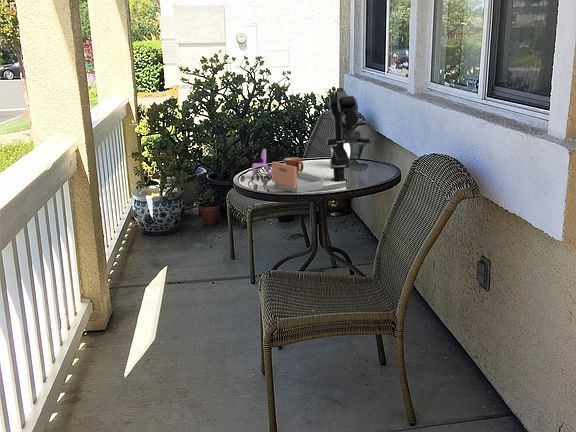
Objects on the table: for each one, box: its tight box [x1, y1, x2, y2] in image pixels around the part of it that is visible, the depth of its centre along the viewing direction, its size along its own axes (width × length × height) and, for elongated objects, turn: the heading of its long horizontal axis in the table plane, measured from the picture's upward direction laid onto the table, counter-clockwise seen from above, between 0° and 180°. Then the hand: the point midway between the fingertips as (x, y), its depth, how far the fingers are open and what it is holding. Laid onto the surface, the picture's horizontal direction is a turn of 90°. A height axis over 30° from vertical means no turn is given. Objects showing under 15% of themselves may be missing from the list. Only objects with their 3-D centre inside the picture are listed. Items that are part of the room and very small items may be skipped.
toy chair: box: [251, 148, 272, 180], centre depth 307 cm, size 8×9×15 cm
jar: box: [330, 143, 351, 159], centre depth 324 cm, size 11×10×15 cm
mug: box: [283, 156, 304, 175], centre depth 300 cm, size 12×9×10 cm
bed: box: [274, 171, 324, 194], centre depth 281 cm, size 14×21×6 cm
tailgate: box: [271, 161, 297, 188], centre depth 276 cm, size 2×20×10 cm, turn 31°
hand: (348, 160), depth 263 cm, fingers open, 9 cm apart
